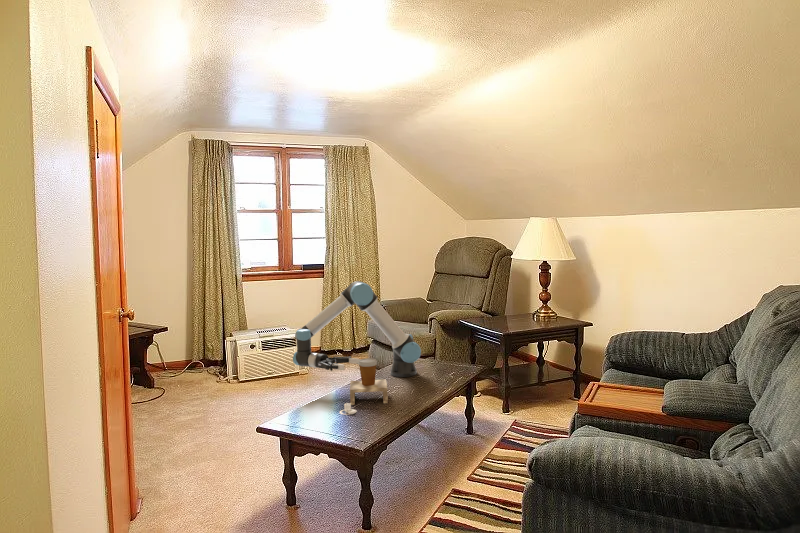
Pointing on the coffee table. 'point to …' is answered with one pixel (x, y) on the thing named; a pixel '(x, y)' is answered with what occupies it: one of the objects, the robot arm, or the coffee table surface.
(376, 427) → the coffee table surface
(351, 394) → the maple shelf
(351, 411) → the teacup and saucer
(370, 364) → the disposable coffee cup
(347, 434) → the coffee table surface
